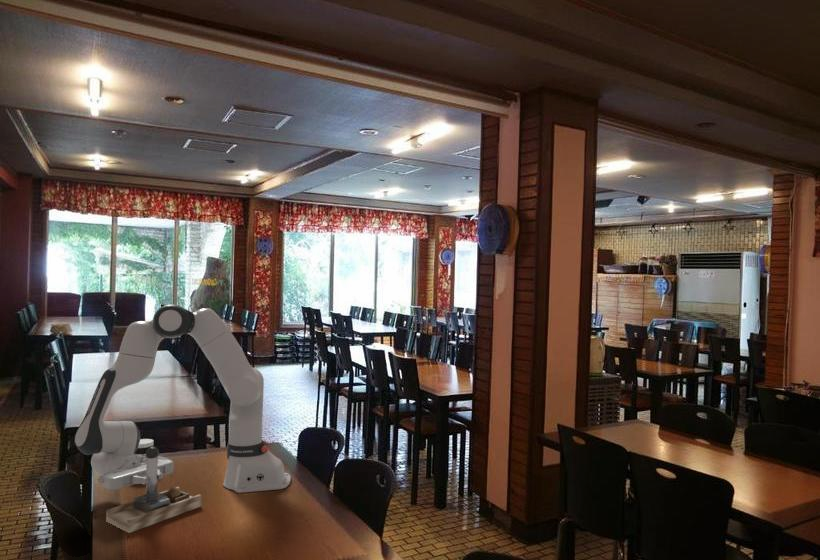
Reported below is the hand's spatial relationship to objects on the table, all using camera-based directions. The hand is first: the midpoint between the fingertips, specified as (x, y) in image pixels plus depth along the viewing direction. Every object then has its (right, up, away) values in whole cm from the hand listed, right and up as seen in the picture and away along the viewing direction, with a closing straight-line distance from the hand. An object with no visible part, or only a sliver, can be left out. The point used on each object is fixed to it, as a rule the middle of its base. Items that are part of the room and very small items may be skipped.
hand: (153, 479), depth 171 cm
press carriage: (-1, -9, +1) cm, 9 cm away
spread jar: (-18, -11, +35) cm, 40 cm away
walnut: (+3, -7, +7) cm, 10 cm away
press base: (-1, -11, +1) cm, 11 cm away
